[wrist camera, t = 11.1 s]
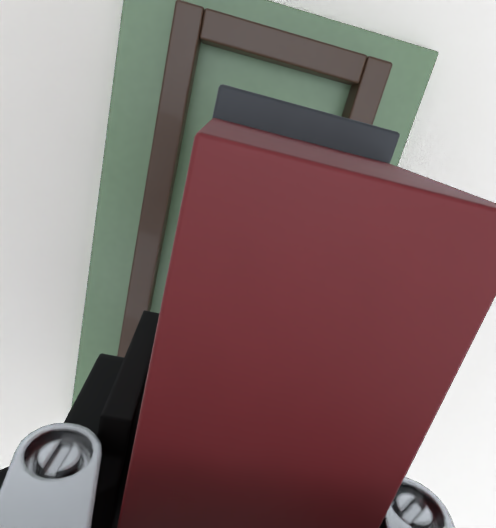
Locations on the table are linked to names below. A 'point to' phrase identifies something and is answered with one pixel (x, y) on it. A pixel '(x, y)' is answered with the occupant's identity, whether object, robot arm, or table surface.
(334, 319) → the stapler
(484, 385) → the table surface
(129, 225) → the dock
